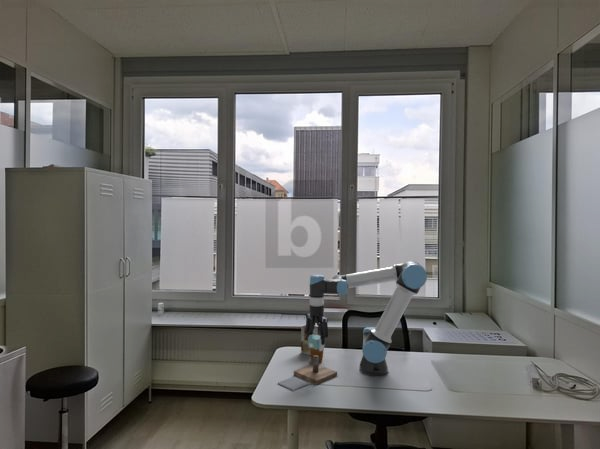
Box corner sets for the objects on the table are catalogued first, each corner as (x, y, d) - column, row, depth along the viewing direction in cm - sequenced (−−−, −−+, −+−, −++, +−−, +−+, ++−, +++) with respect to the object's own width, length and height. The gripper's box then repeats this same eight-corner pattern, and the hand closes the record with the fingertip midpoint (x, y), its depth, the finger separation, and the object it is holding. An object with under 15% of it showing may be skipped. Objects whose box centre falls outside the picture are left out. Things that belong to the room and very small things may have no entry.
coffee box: (318, 353, 238) (319, 327, 238) (312, 356, 233) (312, 329, 233) (307, 350, 244) (307, 324, 244) (300, 352, 239) (300, 326, 239)
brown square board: (337, 375, 205) (337, 356, 205) (316, 384, 194) (316, 364, 194) (314, 366, 217) (314, 348, 216) (293, 374, 205) (294, 355, 205)
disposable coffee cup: (325, 358, 229) (325, 338, 229) (324, 364, 220) (324, 343, 220) (308, 358, 230) (309, 337, 230) (307, 364, 221) (307, 342, 221)
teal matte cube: (325, 346, 205) (325, 337, 205) (315, 350, 200) (315, 340, 200) (316, 343, 210) (316, 334, 209) (306, 347, 204) (306, 337, 204)
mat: (309, 384, 194) (309, 383, 194) (293, 391, 186) (293, 389, 186) (293, 377, 202) (293, 376, 202) (277, 383, 194) (277, 382, 194)
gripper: (335, 306, 200) (335, 351, 201) (308, 300, 214) (308, 342, 215) (326, 309, 195) (325, 355, 196) (298, 302, 209) (298, 346, 209)
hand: (316, 348), depth 205 cm, fingers closed on teal matte cube, 6 cm apart
